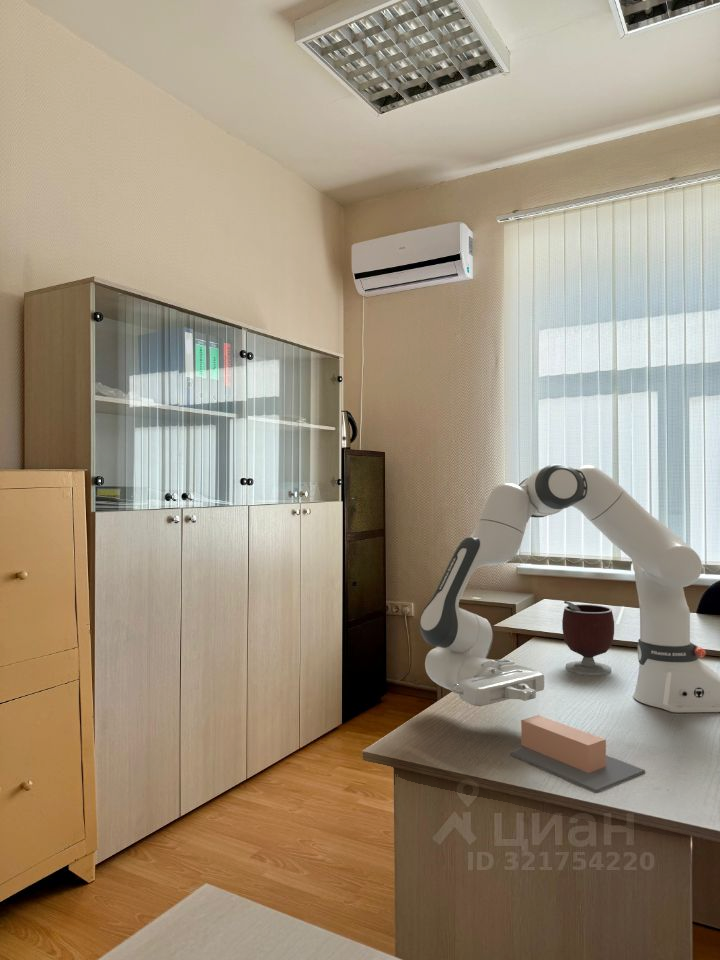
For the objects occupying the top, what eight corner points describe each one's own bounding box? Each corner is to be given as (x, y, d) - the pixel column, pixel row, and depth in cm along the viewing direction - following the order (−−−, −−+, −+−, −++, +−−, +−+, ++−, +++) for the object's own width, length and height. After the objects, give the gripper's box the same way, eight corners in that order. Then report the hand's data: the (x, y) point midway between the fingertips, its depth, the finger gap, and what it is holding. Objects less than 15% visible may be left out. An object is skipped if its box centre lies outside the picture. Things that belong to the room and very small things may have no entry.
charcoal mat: (509, 754, 134) (509, 752, 134) (557, 739, 142) (557, 736, 142) (596, 792, 118) (596, 789, 118) (645, 772, 126) (645, 769, 126)
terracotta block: (521, 720, 138) (588, 745, 124) (538, 715, 140) (605, 739, 127) (521, 745, 138) (588, 773, 124) (538, 739, 140) (605, 766, 127)
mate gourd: (588, 660, 204) (587, 592, 204) (625, 671, 191) (625, 599, 191) (547, 667, 197) (547, 597, 197) (584, 679, 184) (583, 604, 184)
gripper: (445, 673, 144) (493, 689, 133) (514, 658, 156) (563, 671, 144) (446, 703, 144) (494, 722, 133) (514, 686, 156) (564, 702, 144)
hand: (531, 695), depth 139 cm, fingers closed
